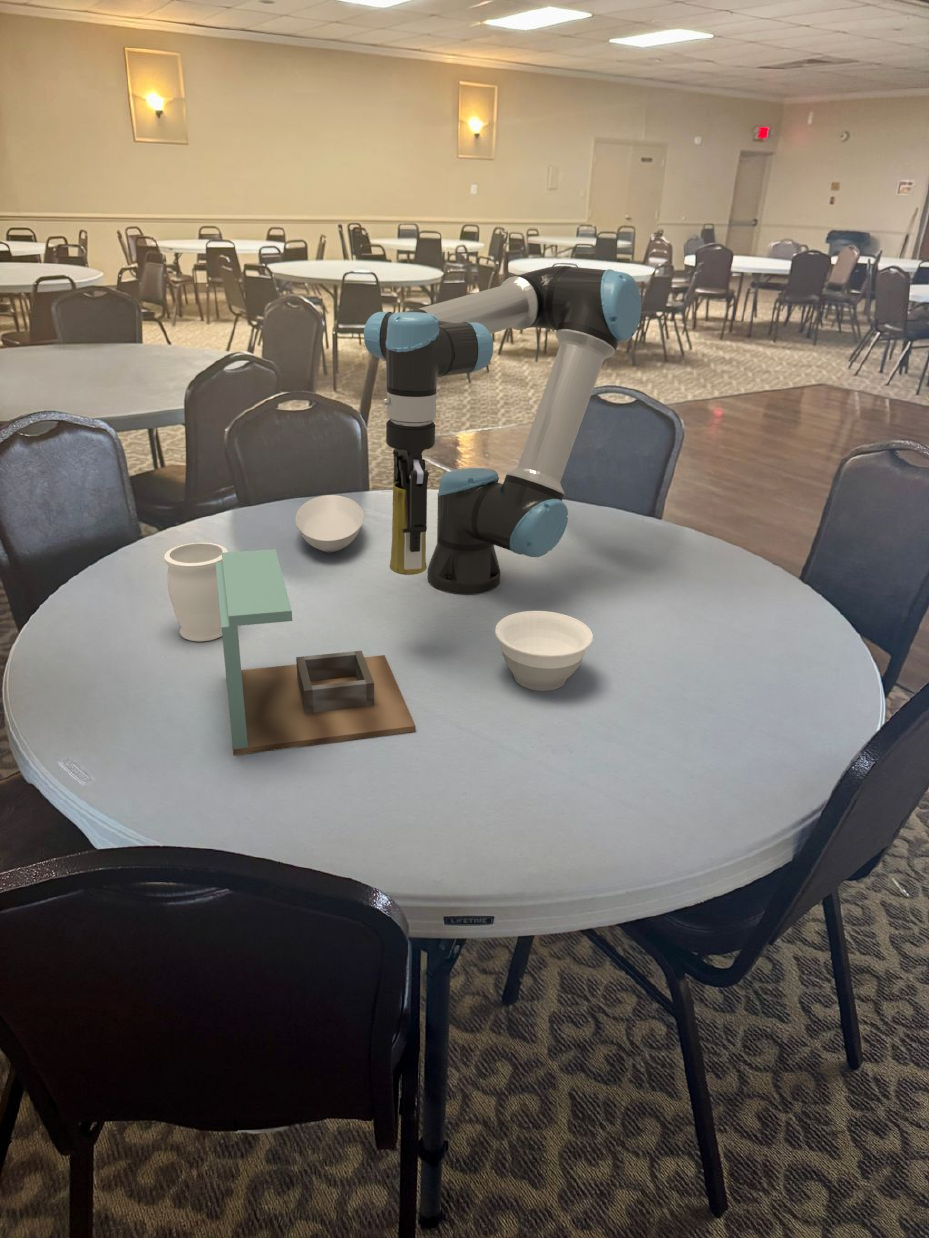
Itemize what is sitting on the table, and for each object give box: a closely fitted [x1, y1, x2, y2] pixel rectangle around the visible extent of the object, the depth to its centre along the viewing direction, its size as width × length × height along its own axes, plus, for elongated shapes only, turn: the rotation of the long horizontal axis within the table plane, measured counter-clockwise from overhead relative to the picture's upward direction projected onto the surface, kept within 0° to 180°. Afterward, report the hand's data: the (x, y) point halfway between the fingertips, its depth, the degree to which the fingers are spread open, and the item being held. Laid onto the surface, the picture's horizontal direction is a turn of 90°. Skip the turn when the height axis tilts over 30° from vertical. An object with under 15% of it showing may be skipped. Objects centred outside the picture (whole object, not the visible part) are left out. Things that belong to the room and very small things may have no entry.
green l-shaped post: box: [216, 548, 293, 750], centre depth 123 cm, size 9×22×20 cm, turn 17°
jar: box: [163, 542, 229, 642], centre depth 146 cm, size 11×10×15 cm
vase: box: [389, 482, 428, 576], centre depth 136 cm, size 6×6×14 cm
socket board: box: [232, 650, 416, 756], centre depth 129 cm, size 26×22×5 cm
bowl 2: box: [494, 610, 594, 692], centre depth 138 cm, size 16×16×8 cm
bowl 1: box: [295, 494, 365, 553], centre depth 190 cm, size 30×15×6 cm, turn 6°
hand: (408, 560), depth 139 cm, fingers closed on vase, 6 cm apart
